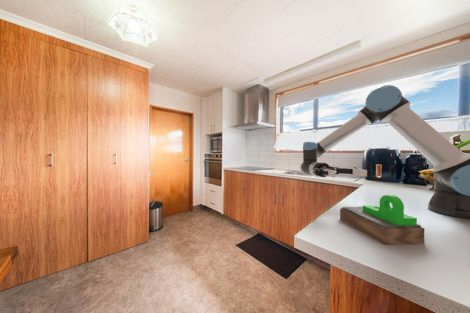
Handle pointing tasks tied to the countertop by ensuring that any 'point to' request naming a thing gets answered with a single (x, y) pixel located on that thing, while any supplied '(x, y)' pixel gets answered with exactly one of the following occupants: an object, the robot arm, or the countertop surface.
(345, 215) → the stand
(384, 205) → the mechanical part
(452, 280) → the countertop surface
